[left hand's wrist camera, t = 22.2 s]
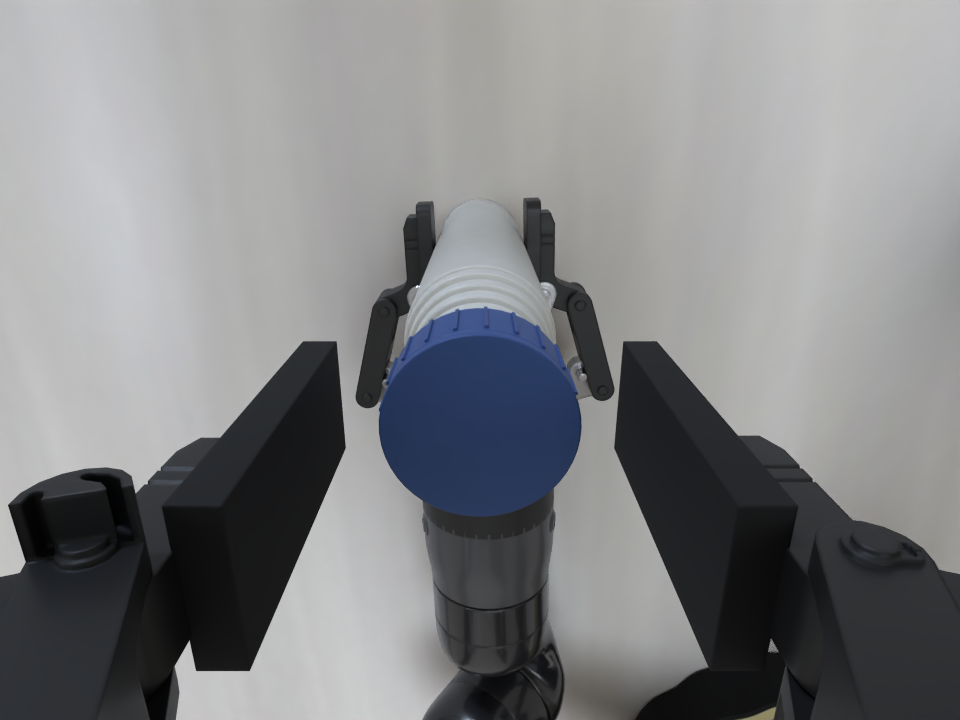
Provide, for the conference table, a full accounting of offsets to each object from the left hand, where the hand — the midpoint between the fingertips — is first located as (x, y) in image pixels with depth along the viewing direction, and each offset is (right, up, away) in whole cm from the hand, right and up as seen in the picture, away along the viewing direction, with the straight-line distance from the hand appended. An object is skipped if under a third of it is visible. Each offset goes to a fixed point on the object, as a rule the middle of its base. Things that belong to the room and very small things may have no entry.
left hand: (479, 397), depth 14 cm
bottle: (0, +8, +22) cm, 24 cm away
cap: (0, -1, -1) cm, 1 cm away
